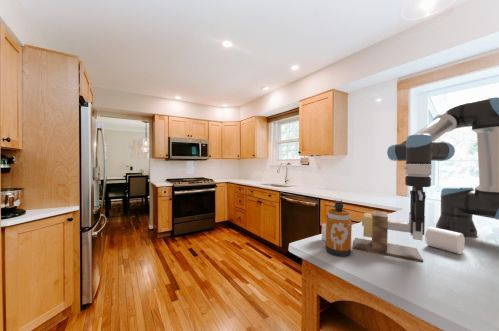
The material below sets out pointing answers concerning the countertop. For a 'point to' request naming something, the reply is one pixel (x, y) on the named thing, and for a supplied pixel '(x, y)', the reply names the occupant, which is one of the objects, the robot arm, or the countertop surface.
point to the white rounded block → (445, 240)
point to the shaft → (401, 224)
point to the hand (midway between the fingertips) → (416, 237)
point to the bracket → (384, 240)
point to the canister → (338, 230)
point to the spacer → (368, 224)
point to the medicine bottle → (324, 231)
